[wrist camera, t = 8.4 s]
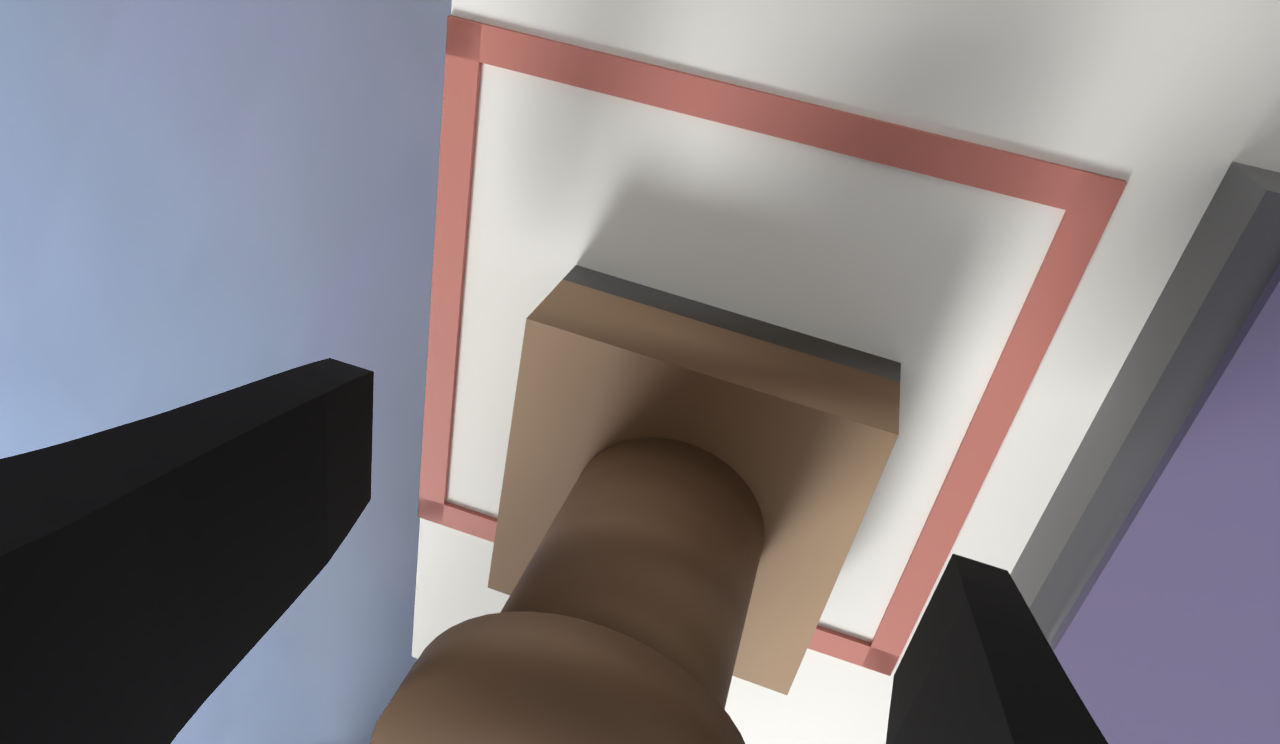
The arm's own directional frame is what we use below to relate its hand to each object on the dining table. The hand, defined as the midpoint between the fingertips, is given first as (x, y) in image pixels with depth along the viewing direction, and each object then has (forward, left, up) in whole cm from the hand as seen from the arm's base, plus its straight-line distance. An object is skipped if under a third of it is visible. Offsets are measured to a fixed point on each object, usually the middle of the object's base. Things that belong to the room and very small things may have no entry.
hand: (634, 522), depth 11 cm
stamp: (0, +1, -4) cm, 4 cm away
